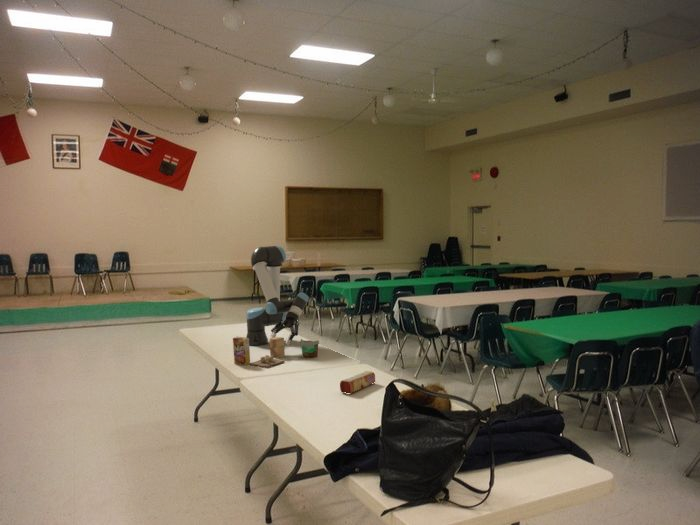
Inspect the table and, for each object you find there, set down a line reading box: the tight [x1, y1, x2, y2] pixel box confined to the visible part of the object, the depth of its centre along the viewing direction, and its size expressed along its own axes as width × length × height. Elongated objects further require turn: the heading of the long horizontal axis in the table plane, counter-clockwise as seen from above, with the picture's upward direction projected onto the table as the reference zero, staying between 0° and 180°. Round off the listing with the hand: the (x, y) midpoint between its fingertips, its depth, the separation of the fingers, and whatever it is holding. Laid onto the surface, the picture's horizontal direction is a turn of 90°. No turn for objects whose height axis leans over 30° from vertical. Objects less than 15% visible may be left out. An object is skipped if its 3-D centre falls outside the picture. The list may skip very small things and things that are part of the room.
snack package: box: [339, 370, 376, 394], centre depth 261 cm, size 21×7×7 cm, turn 143°
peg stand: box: [248, 355, 286, 369], centre depth 313 cm, size 14×14×4 cm
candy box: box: [232, 336, 251, 366], centre depth 315 cm, size 9×4×15 cm, turn 60°
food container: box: [299, 338, 320, 359], centre depth 325 cm, size 12×6×10 cm, turn 62°
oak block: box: [269, 336, 286, 359], centre depth 330 cm, size 6×6×11 cm
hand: (278, 343), depth 330 cm, fingers open, 13 cm apart
